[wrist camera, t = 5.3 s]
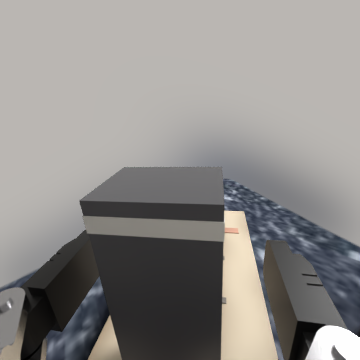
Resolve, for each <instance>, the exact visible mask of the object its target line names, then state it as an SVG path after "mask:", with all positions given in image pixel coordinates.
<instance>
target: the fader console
mask: <svg viewBox="0 0 360 360" xmlns="http://www.w3.org/2000/svg"><path fill="white" fill-rule="evenodd" d="M224 217H225V236H224V244H223V287H222V330H221V360H278V357H277V352H276V348H275V344H274V340H273V335H272V331H271V327H270V322H269V318H268V314H267V309H266V305H265V301H264V296H263V292H262V288H261V283H260V279H259V275H258V271H257V266H256V262H255V258H254V253H253V249H252V245H251V240H250V236H249V232H248V227H247V223H246V219H245V214H244V212H243V211H224ZM88 360H122V358H121V354H120V350H119V347H118V343H117V339H116V336H115V332H114V328H113V324H112V321H111V317H110V316H109V318H108V320H107V322H106V324H105V326H104V328H103V330H102V332H101V334H100V336H99V338H98V340H97V342H96V344H95V346H94V348H93V350H92V352H91V354H90V356H89V358H88Z"/></svg>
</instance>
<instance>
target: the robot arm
mask: <svg viewBox="0 0 360 360" xmlns="http://www.w3.org/2000/svg"><path fill="white" fill-rule="evenodd" d="M263 275H264V282H265V286H266V290H267V294H268V298H269V302H270V305H271V309H272V313H273V317H274V321H275V325H276V329H277V333H278V337H279V341H280V345H281V349H282V353H283V357H284V360H360V338H359V337H357V336H356V335H354V334H353V333H351V332H349V330H348V329H347V327H346V325H345V324H344V322H343V320H342V318H341V316H340V315H339V313H338V311H337V309H336V307H335V306H334V304H333V302H332V300H331V299H330V297H329V295H328V293H327V291H326V290H325V288H324V287H323V284H322V283H321V281H320V279H319V277H317V274H316V272H315V270H314V268H313V267H312V265H311V263H309V262H308V261H307V260H306V259H305V258H304V257H303V256H302V255H301V254H292V252H291V250H290V248H289V246H288V244H287V242H286V241H277V240H267V241H266V248H265V256H264V265H263ZM98 277H99V272H98V268H97V265H96V261H95V257H94V253H93V250H92V246H91V242H90V238H89V235H88V234H87V231H86V230H85V231H83V232H82V233H81V234H80V235H79V236H78V237H77V238H76V239H74V240H72V241H70V242H69V243H67V244H66V245H64V246H63V247H62V248H61V249H60V250H59V251H58V252H57V253H56V254H55V255H54V256H53V257H52V258H51V259H50V261H47V262H46V263H45V264H44V265H43V266H42V267H41V268H40V269H39V270H38V271H37V272H36V273H35V274H34V275H33V276H32V277H31V278H30V279H29V280H28V281H27V282H25V283H24V284H23V285H22V286H21V287H20V288H11V289H7V290H5V291H2V292H0V360H46V351H47V338H46V336H47V334H48V333H49V331H50V330H54V331H60V332H62V331H63V330H64V328H65V327H66V325H67V324H68V322H69V321H70V319H71V318H72V316H73V315H74V313H75V312H76V310H77V309H78V307H79V306H80V304H81V303H82V301H83V300H84V298H85V297H86V295H87V294H88V292H89V291H90V289H91V288H92V286H93V285H94V283H95V282H96V280H97V279H98Z"/></svg>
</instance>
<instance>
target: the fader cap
mask: <svg viewBox="0 0 360 360" xmlns="http://www.w3.org/2000/svg"><path fill="white" fill-rule="evenodd" d="M80 205H81V209H82V212H83V220H84V224H85V228H86V231H87V234H88V235H89V238H90V242H91V246H92V250H93V253H94V257H95V261H96V265H97V268H98V272H99V276H100V280H101V283H102V287H103V291H104V294H105V298H106V302H107V306H108V309H109V313H110V317H111V321H112V324H113V328H114V332H115V336H116V339H117V343H118V347H119V350H120V354H121V358H122V360H221V330H222V287H223V244H224V236H225V217H224V191H223V175H222V167H124V168H123V169H121V170H120V171H119V172H117V173H116V174H115V175H113V176H112V177H110V178H109V179H108V180H106V181H105V182H104V183H102V184H101V185H100V186H98V187H97V188H96V189H94V190H93V191H92V192H90V193H89V194H88V195H87V196H85V197H84V198H82V199H81V200H80Z"/></svg>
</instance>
